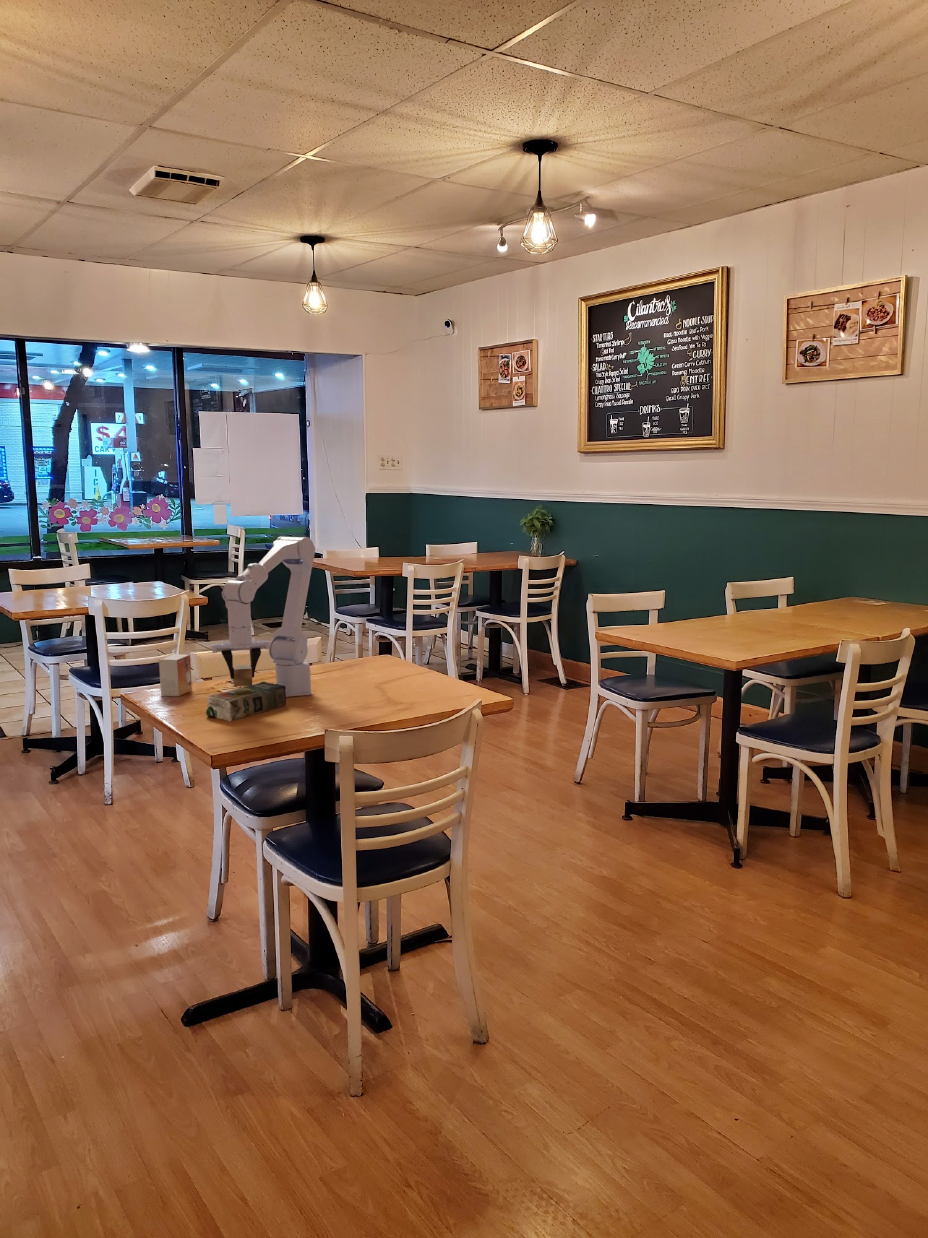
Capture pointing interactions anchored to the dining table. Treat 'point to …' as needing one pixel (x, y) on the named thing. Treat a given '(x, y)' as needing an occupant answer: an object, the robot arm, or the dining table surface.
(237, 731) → the dining table surface
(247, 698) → the juice carton
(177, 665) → the small box
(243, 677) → the greyish beige block
